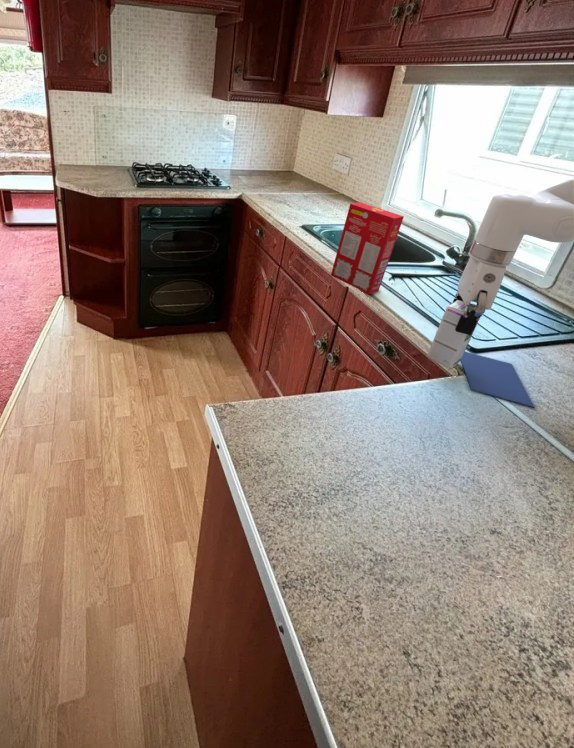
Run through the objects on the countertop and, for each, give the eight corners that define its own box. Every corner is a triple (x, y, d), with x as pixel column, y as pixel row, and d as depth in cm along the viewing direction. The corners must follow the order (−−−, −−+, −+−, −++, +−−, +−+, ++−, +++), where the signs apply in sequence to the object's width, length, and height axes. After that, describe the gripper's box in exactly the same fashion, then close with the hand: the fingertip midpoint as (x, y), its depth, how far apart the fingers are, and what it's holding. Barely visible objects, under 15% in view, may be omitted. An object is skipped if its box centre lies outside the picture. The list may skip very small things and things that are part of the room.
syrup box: (451, 370, 93) (476, 317, 87) (425, 356, 97) (447, 304, 90) (460, 361, 96) (485, 309, 90) (435, 348, 100) (457, 298, 94)
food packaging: (378, 290, 129) (403, 216, 118) (369, 294, 126) (394, 218, 115) (339, 272, 139) (359, 202, 128) (330, 275, 136) (350, 203, 125)
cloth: (511, 364, 99) (511, 363, 99) (534, 408, 86) (534, 407, 86) (457, 350, 103) (457, 349, 103) (471, 390, 89) (471, 389, 89)
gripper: (526, 272, 76) (487, 348, 84) (499, 243, 91) (469, 310, 99) (481, 263, 78) (447, 338, 86) (462, 236, 93) (435, 302, 101)
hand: (459, 323), depth 92 cm, fingers closed on syrup box, 7 cm apart
